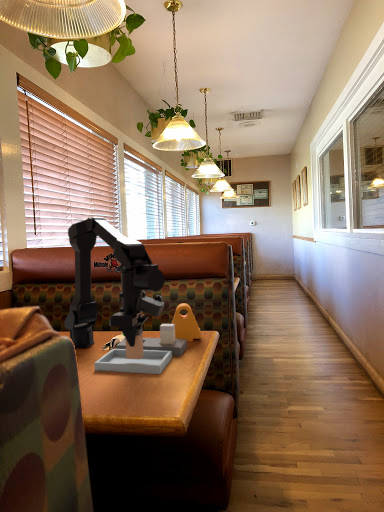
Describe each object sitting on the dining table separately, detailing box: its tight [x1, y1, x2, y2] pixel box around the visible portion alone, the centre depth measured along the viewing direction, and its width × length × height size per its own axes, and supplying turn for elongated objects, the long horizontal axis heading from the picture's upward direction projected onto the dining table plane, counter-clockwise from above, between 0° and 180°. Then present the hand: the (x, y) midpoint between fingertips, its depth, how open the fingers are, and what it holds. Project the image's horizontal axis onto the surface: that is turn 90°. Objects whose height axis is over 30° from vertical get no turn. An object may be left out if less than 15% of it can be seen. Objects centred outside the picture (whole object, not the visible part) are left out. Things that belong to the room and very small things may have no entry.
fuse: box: [159, 323, 175, 345], centre depth 114 cm, size 4×3×8 cm
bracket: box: [171, 302, 202, 342], centre depth 127 cm, size 11×7×12 cm, turn 92°
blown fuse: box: [124, 327, 144, 359], centre depth 102 cm, size 4×3×8 cm
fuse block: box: [115, 337, 188, 357], centre depth 115 cm, size 20×9×2 cm, turn 79°
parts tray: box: [94, 348, 173, 375], centre depth 102 cm, size 18×12×2 cm, turn 79°
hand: (134, 344), depth 102 cm, fingers closed on blown fuse, 3 cm apart
